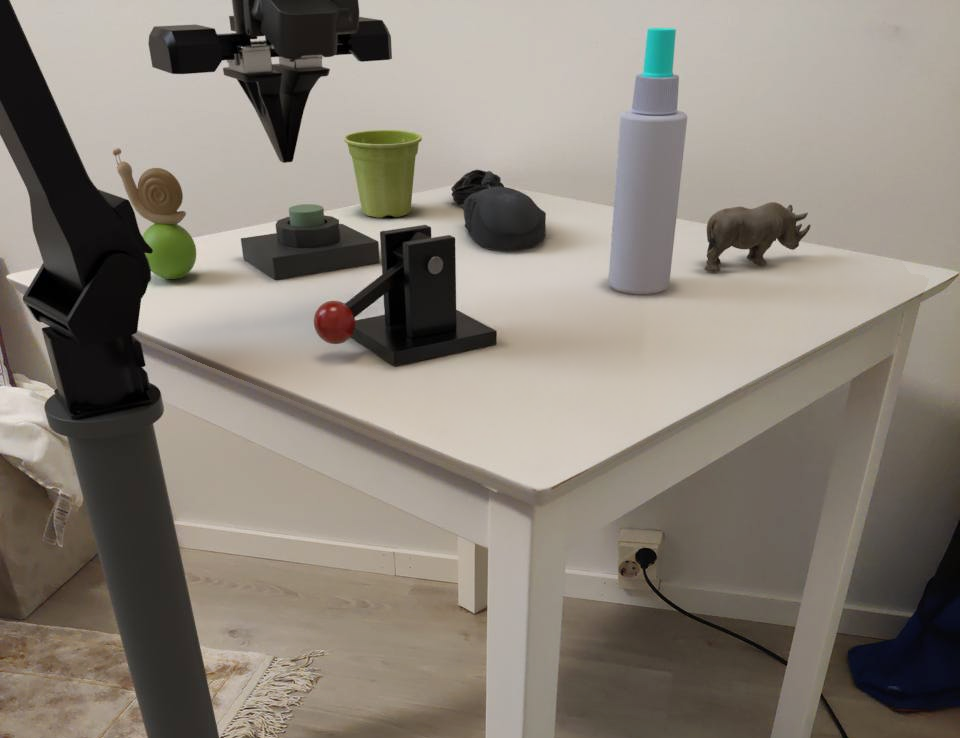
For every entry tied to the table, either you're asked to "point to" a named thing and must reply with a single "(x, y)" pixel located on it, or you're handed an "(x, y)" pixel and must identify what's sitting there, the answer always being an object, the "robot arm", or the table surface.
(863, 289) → the table surface
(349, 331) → the lever
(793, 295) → the table surface
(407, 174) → the plant pot
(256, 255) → the box
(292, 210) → the power button
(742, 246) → the rhino figurine
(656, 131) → the spray bottle
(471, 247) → the table surface
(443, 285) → the switch bracket
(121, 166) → the snail figurine
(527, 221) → the dark rounded piece
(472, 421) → the table surface
